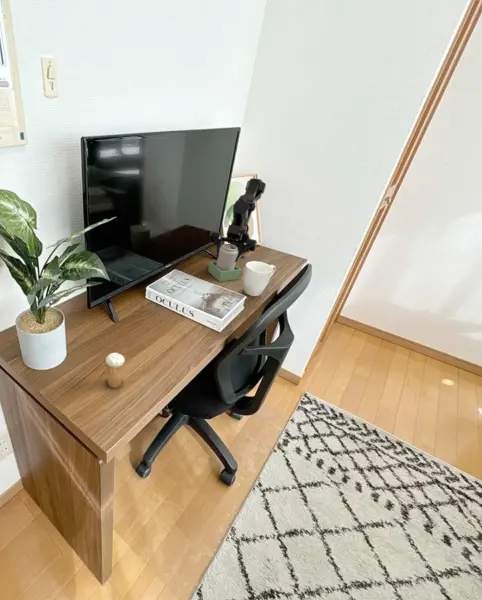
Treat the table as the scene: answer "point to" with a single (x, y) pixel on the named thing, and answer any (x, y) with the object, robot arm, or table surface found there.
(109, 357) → the milkshake
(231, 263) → the can
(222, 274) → the bin
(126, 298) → the table surface
